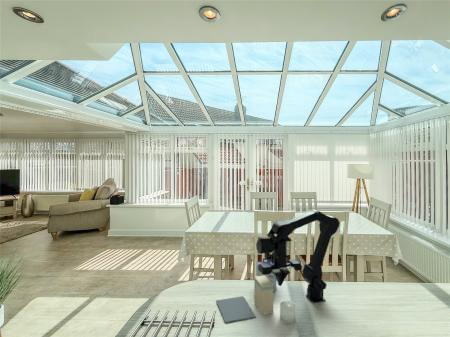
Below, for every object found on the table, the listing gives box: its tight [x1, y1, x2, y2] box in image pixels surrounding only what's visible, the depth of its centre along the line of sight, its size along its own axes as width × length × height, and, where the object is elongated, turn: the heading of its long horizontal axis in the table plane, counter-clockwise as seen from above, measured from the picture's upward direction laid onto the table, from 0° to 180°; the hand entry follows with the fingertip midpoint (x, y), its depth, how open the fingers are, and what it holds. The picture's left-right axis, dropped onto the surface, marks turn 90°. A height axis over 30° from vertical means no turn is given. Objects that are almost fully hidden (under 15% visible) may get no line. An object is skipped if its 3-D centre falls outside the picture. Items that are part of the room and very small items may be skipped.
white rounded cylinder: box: [279, 300, 296, 325], centre depth 106 cm, size 6×6×6 cm
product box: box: [255, 257, 277, 292], centre depth 131 cm, size 10×6×14 cm, turn 81°
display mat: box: [216, 295, 257, 324], centre depth 113 cm, size 13×16×1 cm
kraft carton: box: [253, 275, 274, 315], centre depth 114 cm, size 5×9×12 cm, turn 15°
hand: (279, 285), depth 116 cm, fingers closed
